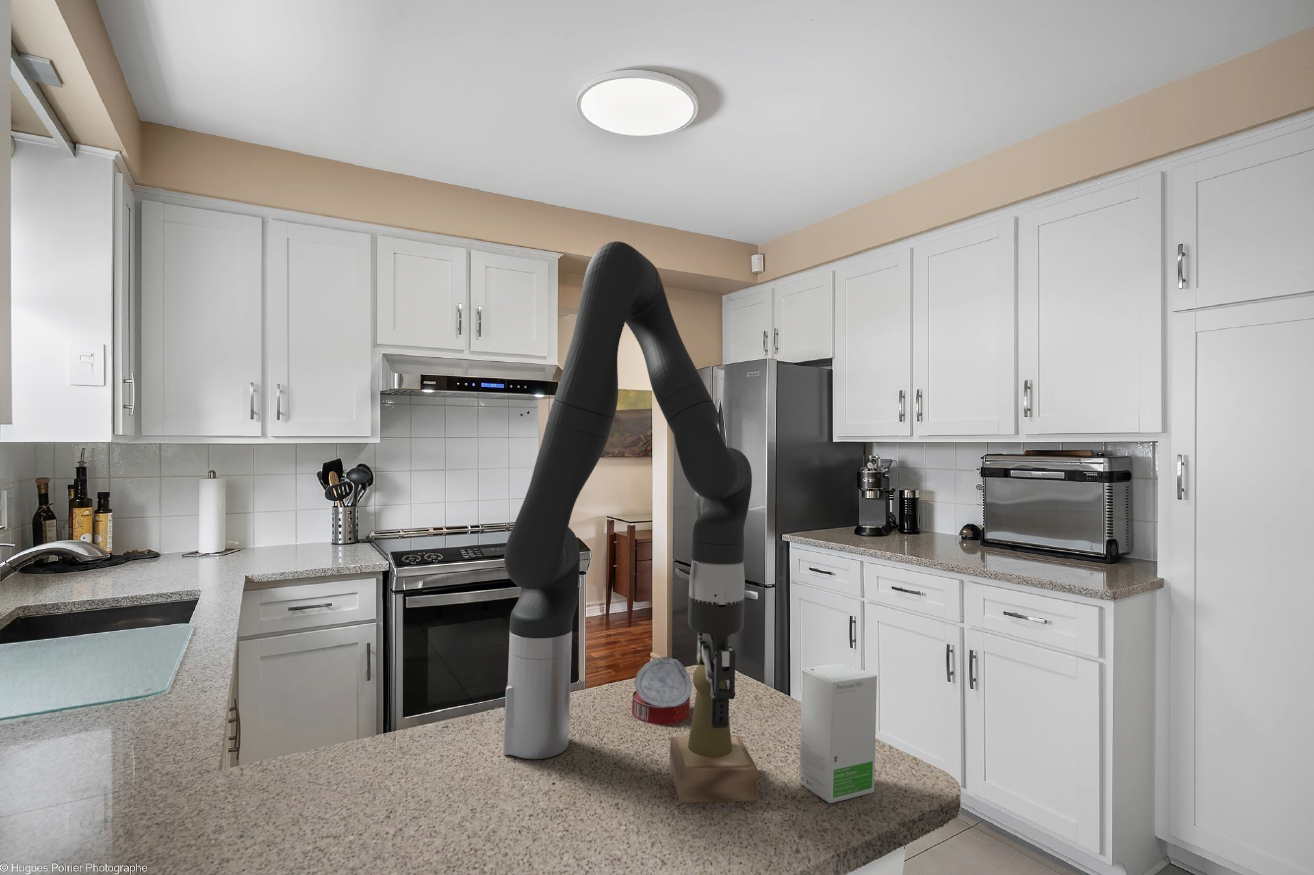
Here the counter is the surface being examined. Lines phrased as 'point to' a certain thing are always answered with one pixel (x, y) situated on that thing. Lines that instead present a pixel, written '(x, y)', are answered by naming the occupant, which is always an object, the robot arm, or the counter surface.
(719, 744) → the olive knobbed peg
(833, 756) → the skincare box
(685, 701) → the canned food
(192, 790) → the counter surface
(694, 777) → the base
